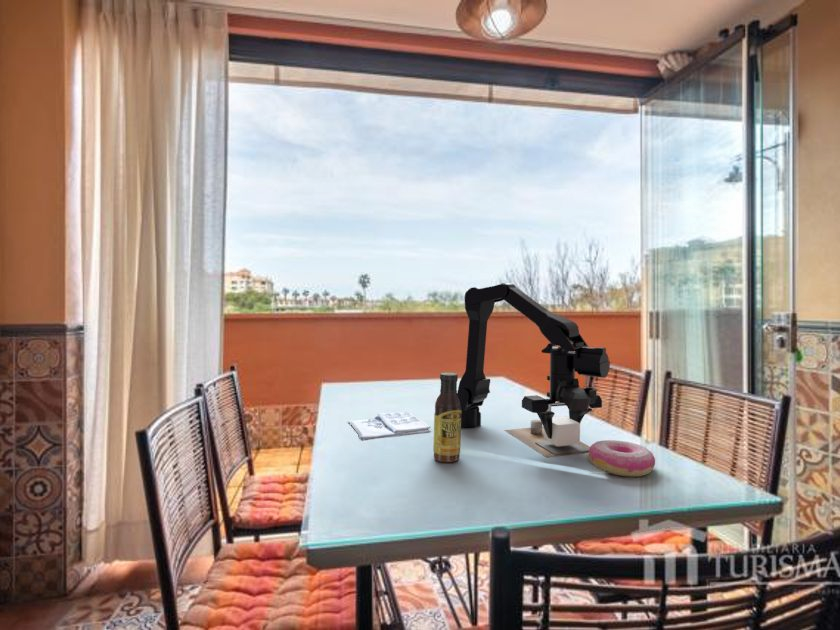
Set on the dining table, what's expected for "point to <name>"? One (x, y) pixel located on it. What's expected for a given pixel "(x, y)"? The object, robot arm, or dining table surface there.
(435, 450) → the sauce bottle
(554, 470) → the dining table surface
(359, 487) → the dining table surface
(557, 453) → the post stand
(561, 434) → the off-white cube box
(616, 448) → the donut
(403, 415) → the open sketchbook
